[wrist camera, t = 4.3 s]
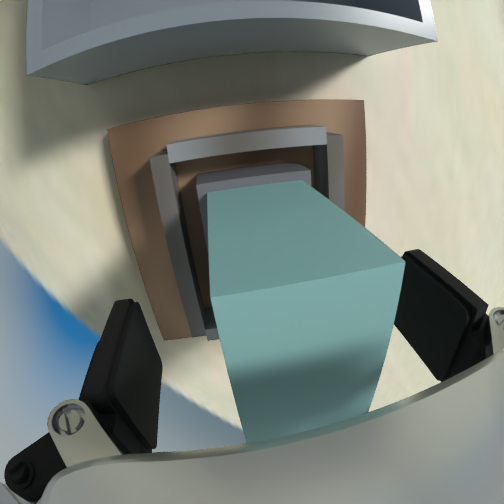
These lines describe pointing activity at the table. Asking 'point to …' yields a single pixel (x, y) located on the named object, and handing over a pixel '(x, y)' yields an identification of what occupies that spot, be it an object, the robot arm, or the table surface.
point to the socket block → (219, 158)
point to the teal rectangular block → (295, 298)
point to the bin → (209, 31)
